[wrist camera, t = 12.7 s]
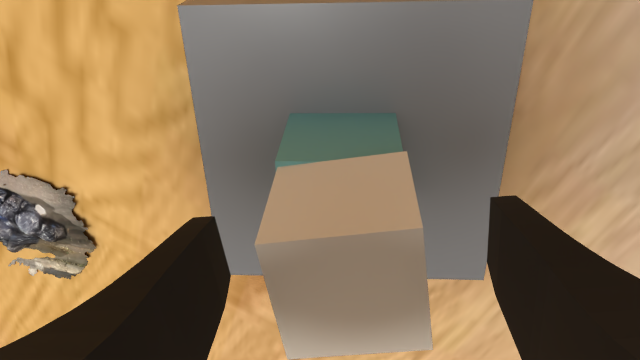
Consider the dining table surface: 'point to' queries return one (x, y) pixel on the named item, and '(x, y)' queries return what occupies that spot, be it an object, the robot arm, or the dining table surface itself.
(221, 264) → the robot arm
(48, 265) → the blueberries
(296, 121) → the teal cube
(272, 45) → the plate
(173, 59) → the dining table surface
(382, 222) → the cream cube
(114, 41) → the dining table surface
